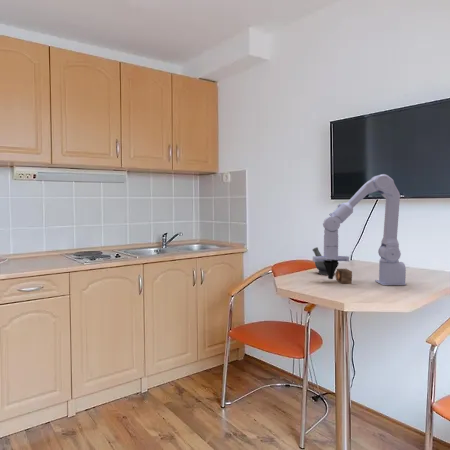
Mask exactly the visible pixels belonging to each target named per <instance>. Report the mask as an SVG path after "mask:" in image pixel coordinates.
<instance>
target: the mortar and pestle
mask: <svg viewBox="0 0 450 450" xmlns="http://www.w3.org/2000/svg"><path fill="white" fill-rule="evenodd" d="M312 252H313V253H314V255H315V256H323V255H322V253H321V252H320V250H319V247H314V248H312ZM327 260H329V259H327ZM314 265H315V267H316V269H317V270H318V274H319V275H321V274H322V275H323V276H328V274H327V270H326V268H325V265H324V263H323V261H316V262H314Z"/></svg>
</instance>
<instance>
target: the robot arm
mask: <svg viewBox="0 0 450 450" xmlns="http://www.w3.org/2000/svg"><path fill="white" fill-rule="evenodd" d="M375 192H376V193H379V194H380V195H381V196H382V197H383V198H384V199H385V206H384V208H385V209H384V221H383V237H382V239H381V242H380V246H379V248H378V252H377V253H378V255H379V258H380V259H379V260H378V261H379V265H378V266H379V270H378V279H375V280H374V282H376V283H378V284H380V285H382V286H406V285H407V283H406V278H407V277H406V275H407V273H406V271H407V270H406V264H405V262H403V261H400V259H401V255H402V253H401V250H400V246H399V245H400V244H399V241H398V229H399V228H398V227H399V213H400V201H401V198H400V197H401V195H400V194H401V193H400V191H399V190H398V188H397V186H396V184H395V181H394V179H393V178H392V177H390V176H389V175H388V174H385V173H382V174H378V175H374V176H372V177H371V178H370V179H369V180H368V181H366V182H364V184H363V185H362V186H361V187H360V188H359V189H358V190H357V191H356V192H355V193H354V195H352V196H351V197H350V199H349V200H347V202H341V203H338V204H337V208H335V210H333V212H330V213H329V216H328V217H326V218H325V219H324V221H323V223H322V226H323V229H324V230H323V231H324V232H323V233H324V235H323V255H322V256H312V262H314V263H315V262H316V261H323V263H324V265H325V268H326V270H327V274H328V275H327V279H328V280H333V279H334V276H335V274H336V271H337V269H338V266H339V264H340V262H350V256H347V255H346V256H345V255H339V229H340V227H341V224H343V223H344V222H345V221H346V220H347V219H348V218H349V217H350V216H351V215H352V214H353V213H354V207H356V206H357V205H358V204H359V203H360V202H361V201H362V200H364V198H365V197H366V196H368V194H372V193H375ZM327 259H329V260H327Z"/></svg>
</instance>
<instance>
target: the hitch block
mask: <svg viewBox="0 0 450 450" xmlns="http://www.w3.org/2000/svg"><path fill="white" fill-rule="evenodd" d="M336 271H340V273H341V279H340V280H336V281H337V282H339V283H340V284H342V285H349V284H351V285H353V284H352V283H353V271H352V270H351V269H349V268H336Z"/></svg>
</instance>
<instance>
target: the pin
mask: <svg viewBox="0 0 450 450" xmlns="http://www.w3.org/2000/svg"><path fill="white" fill-rule="evenodd" d="M334 276H335V277H334V278H335V281H337V280H340V279H341V273H340V271H337V270H335V273H334Z"/></svg>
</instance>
